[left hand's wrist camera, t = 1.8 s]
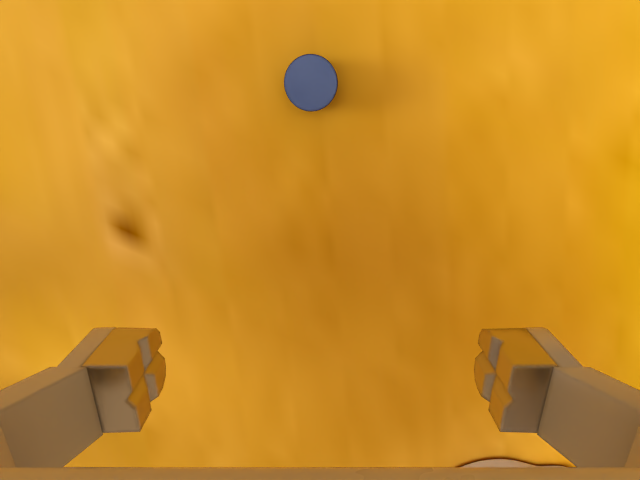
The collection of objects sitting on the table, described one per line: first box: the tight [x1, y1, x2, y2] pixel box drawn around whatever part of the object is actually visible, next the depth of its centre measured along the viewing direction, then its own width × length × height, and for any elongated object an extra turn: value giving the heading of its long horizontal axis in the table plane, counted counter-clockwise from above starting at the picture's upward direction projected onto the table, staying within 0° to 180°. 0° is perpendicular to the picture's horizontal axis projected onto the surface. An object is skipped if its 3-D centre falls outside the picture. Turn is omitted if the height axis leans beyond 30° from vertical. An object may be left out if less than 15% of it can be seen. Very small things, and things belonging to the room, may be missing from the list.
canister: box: [284, 54, 338, 111], centre depth 28 cm, size 3×4×5 cm
